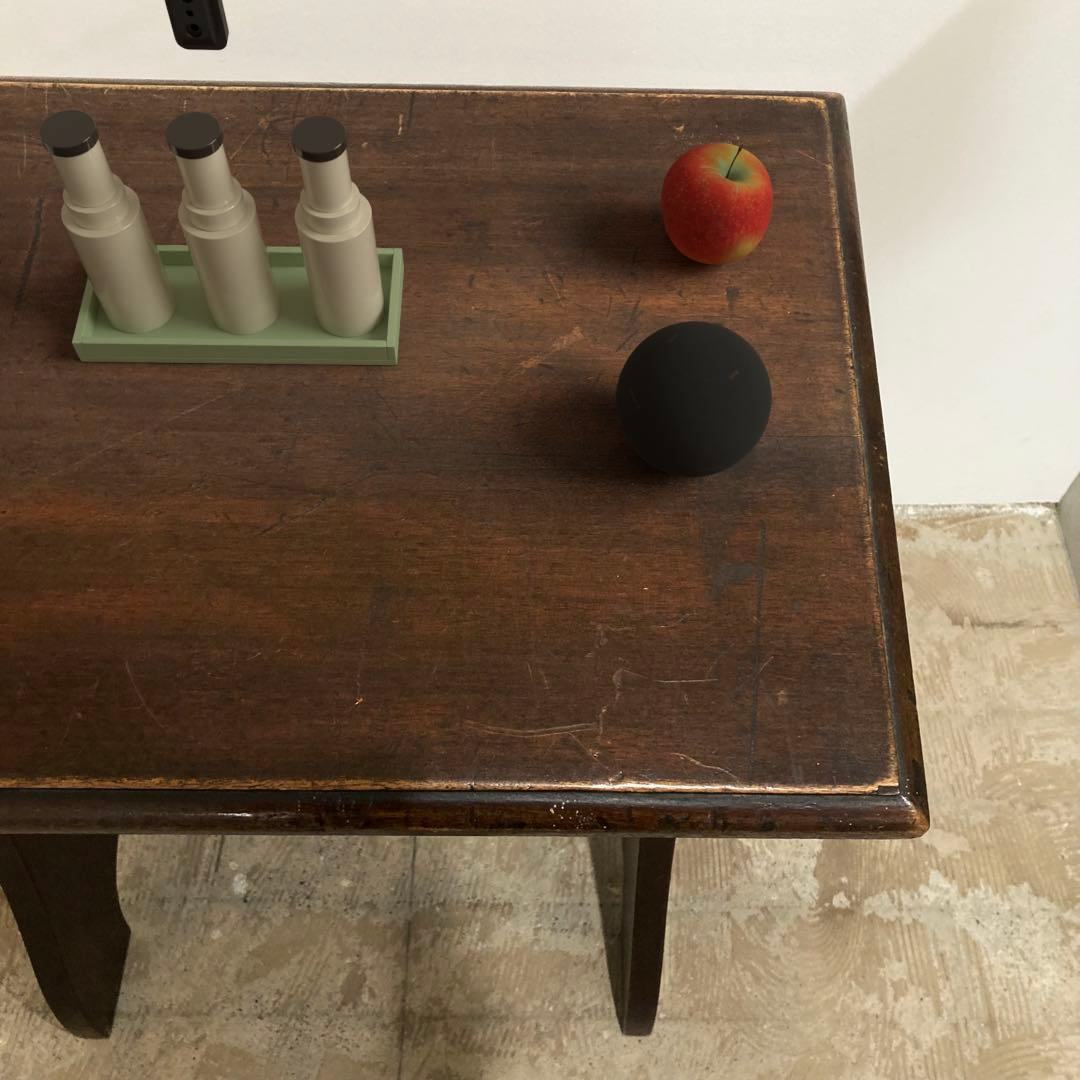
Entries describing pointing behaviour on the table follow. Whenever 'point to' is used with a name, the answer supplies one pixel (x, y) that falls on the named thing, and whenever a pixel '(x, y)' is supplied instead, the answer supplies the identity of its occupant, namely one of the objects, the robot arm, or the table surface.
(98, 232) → the bottle
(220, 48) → the robot arm
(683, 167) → the apple
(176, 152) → the bottle
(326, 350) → the tray
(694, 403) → the black ball
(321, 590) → the table surface
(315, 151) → the bottle
